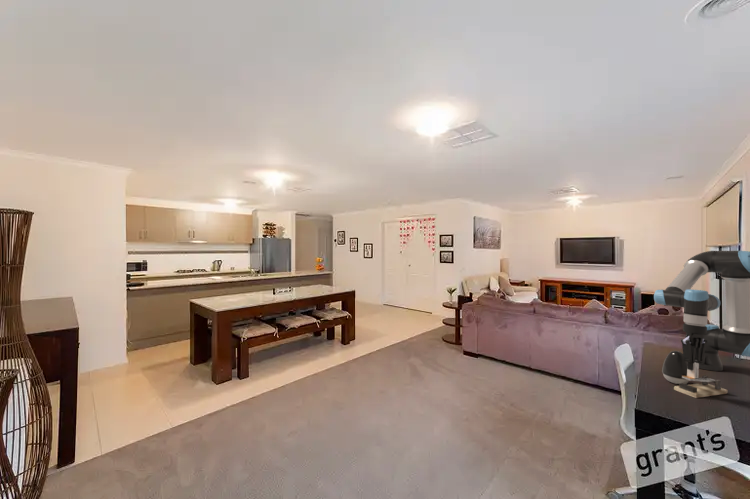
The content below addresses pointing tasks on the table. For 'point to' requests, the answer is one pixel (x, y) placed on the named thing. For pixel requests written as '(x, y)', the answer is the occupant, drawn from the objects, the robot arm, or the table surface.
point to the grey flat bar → (698, 379)
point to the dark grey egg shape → (675, 368)
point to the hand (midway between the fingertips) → (692, 377)
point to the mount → (701, 389)
